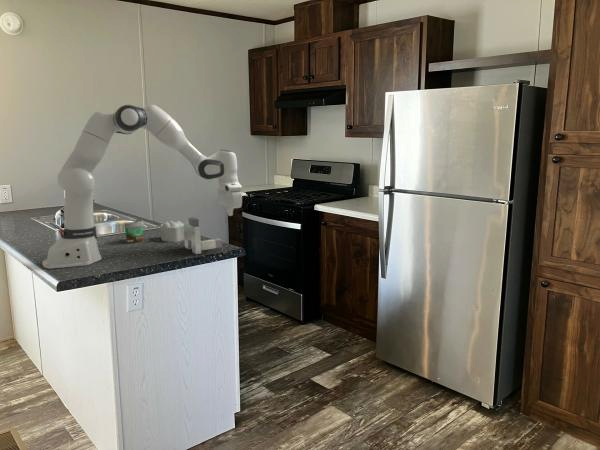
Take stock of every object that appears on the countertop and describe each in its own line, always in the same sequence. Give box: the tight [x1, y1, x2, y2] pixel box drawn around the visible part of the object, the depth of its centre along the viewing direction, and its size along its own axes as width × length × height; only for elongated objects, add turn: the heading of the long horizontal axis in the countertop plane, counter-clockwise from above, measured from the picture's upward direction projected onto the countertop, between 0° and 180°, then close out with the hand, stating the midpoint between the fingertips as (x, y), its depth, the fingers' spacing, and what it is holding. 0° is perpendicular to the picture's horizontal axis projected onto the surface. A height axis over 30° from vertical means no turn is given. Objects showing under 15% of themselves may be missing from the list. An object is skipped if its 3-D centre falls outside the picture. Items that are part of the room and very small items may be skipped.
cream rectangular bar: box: [201, 237, 223, 251], centre depth 231 cm, size 12×4×4 cm, turn 121°
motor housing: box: [183, 216, 202, 255], centre depth 227 cm, size 2×15×15 cm, turn 31°
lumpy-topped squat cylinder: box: [160, 220, 185, 243], centre depth 251 cm, size 10×13×9 cm
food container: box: [123, 218, 145, 244], centre depth 246 cm, size 12×6×10 cm, turn 168°
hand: (229, 215), depth 235 cm, fingers closed
